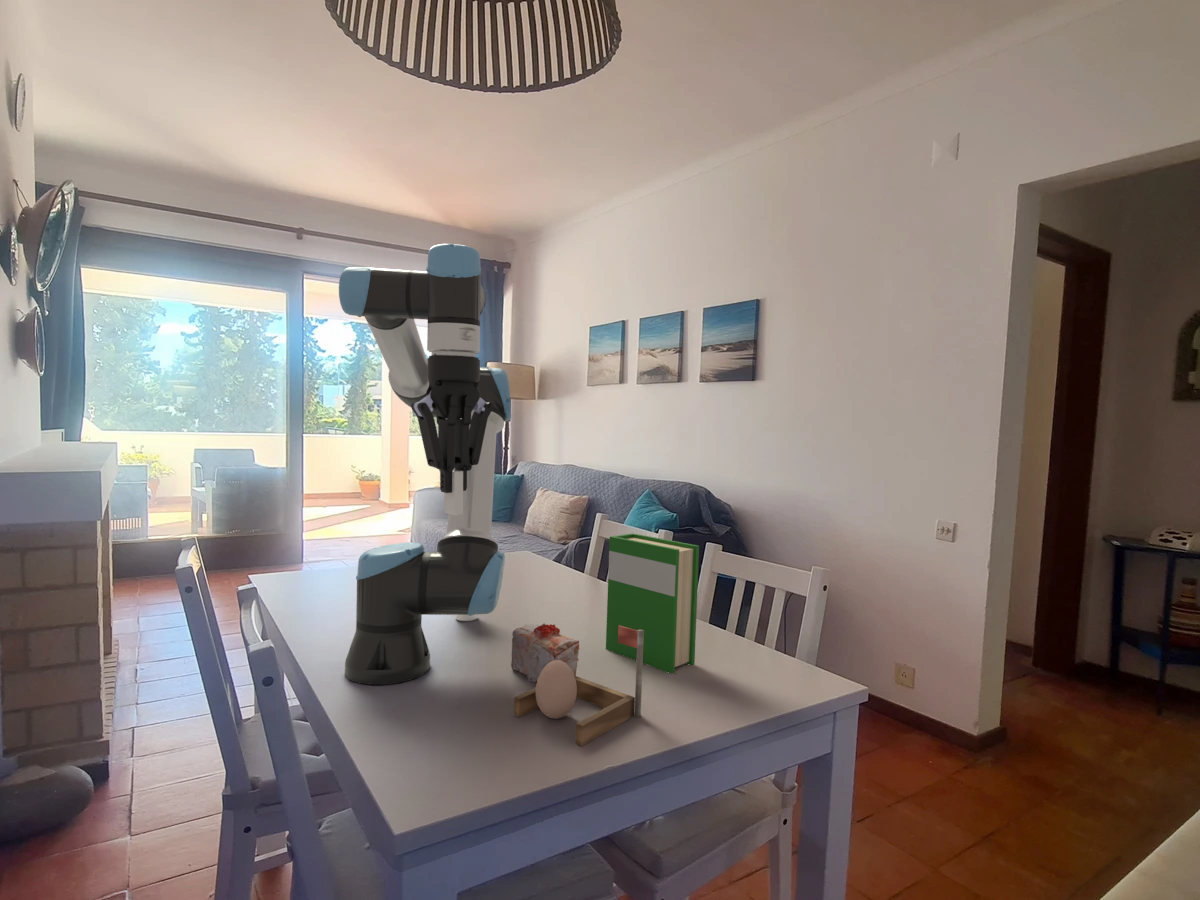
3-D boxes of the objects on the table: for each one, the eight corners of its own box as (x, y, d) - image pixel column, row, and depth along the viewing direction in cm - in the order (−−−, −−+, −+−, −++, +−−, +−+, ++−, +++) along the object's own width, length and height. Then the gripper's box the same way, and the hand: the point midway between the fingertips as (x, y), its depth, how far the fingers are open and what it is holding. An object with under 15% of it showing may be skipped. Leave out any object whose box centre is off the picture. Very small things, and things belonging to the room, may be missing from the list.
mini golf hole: (513, 715, 99) (516, 628, 99) (571, 688, 110) (573, 610, 110) (586, 748, 90) (589, 653, 89) (641, 715, 101) (645, 630, 100)
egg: (579, 725, 97) (581, 667, 96) (537, 728, 95) (539, 670, 95) (571, 706, 103) (573, 652, 103) (532, 709, 101) (533, 654, 101)
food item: (584, 682, 113) (586, 629, 113) (552, 695, 107) (554, 639, 107) (535, 661, 122) (537, 612, 122) (503, 672, 117) (505, 620, 116)
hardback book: (694, 664, 124) (699, 545, 123) (671, 674, 118) (676, 549, 118) (629, 641, 136) (633, 533, 135) (605, 649, 131) (609, 536, 130)
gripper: (428, 351, 83) (428, 523, 85) (505, 357, 93) (503, 511, 95) (400, 352, 88) (401, 515, 91) (475, 357, 98) (475, 504, 100)
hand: (453, 513), depth 93 cm, fingers closed
